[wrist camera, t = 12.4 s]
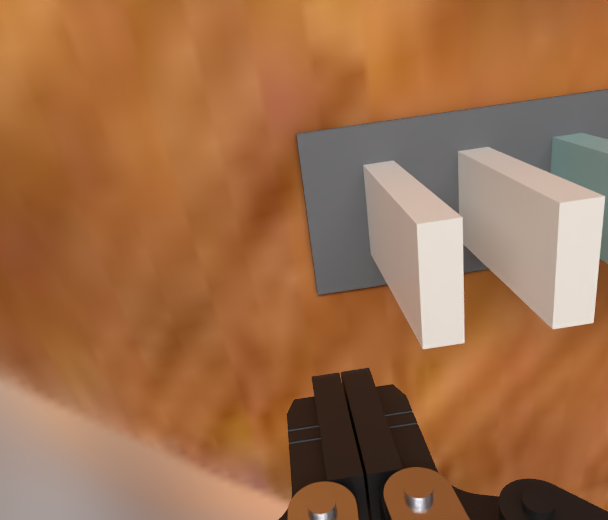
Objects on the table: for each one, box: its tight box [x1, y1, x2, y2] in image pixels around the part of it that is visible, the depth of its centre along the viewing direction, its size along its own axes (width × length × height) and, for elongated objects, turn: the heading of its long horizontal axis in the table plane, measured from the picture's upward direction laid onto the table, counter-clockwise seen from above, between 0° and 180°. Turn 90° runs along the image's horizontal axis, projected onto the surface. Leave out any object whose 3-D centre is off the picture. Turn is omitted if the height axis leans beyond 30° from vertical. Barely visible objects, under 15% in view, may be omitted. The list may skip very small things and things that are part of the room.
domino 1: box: [363, 161, 465, 349], centre depth 24 cm, size 2×5×10 cm, turn 7°
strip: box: [296, 89, 608, 295], centre depth 29 cm, size 30×9×1 cm, turn 97°
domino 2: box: [458, 147, 605, 329], centre depth 24 cm, size 2×5×10 cm, turn 7°
